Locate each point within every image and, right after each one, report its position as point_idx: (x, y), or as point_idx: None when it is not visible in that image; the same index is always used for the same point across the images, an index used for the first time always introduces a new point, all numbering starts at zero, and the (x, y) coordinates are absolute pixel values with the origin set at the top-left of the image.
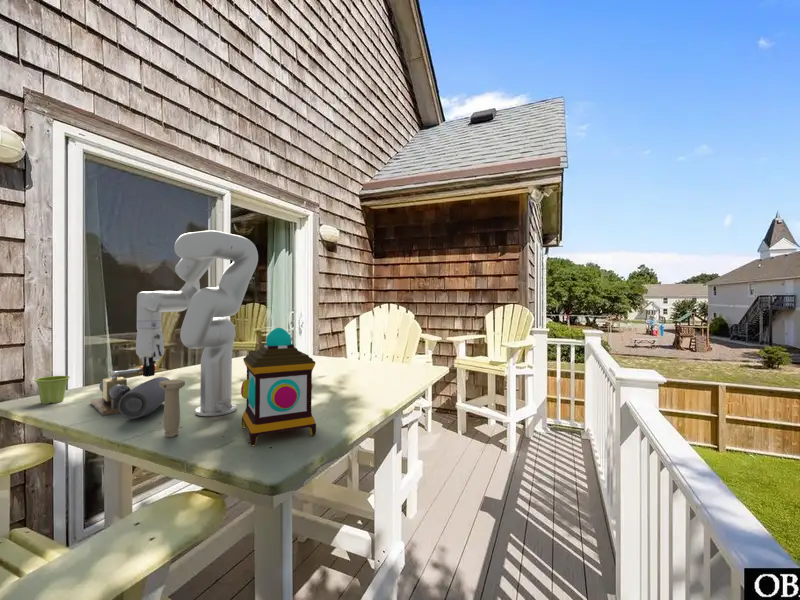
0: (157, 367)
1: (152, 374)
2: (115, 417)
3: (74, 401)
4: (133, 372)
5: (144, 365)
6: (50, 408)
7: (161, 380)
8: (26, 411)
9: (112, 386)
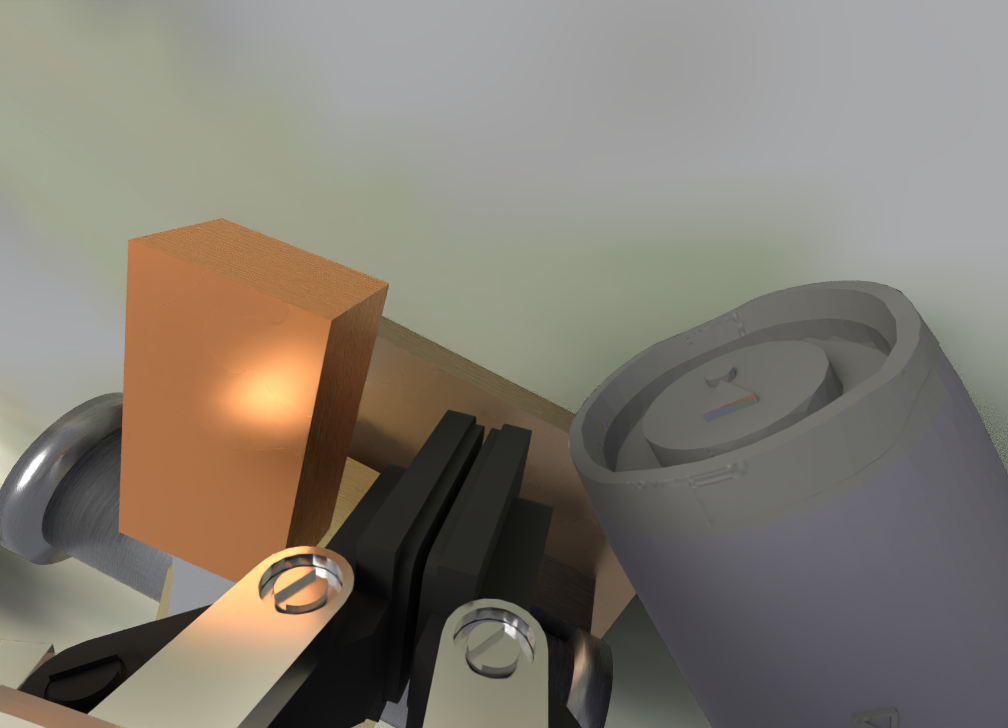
0: (358, 301)
1: (522, 472)
2: (685, 697)
3: (6, 443)
4: None
5: (373, 708)
6: (93, 591)
7: (993, 677)
8: None
9: (383, 720)
